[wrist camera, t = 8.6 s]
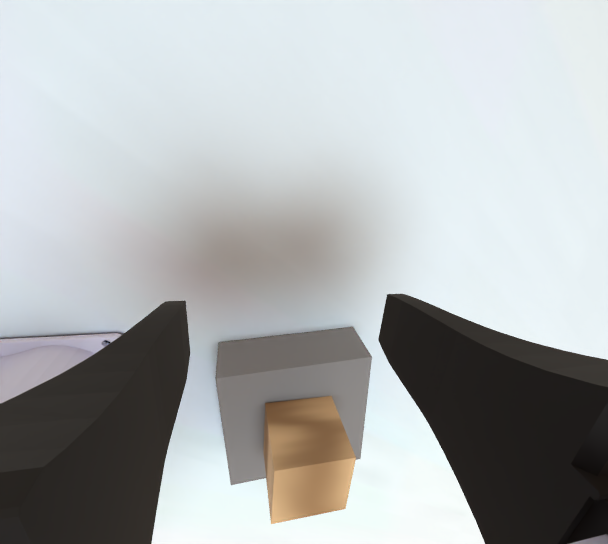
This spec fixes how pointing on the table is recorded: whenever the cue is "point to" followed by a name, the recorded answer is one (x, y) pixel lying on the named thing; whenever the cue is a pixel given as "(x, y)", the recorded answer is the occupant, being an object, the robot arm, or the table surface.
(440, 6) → the table surface
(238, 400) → the gray block
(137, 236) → the table surface
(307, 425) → the oak cube
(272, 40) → the table surface
